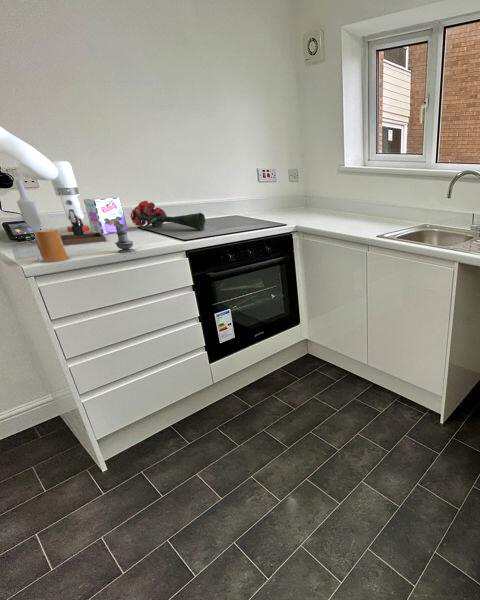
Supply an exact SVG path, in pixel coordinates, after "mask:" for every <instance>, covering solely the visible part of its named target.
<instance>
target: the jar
mask: <svg viewBox="0 0 480 600" xmlns="http://www.w3.org/2000/svg"><path fill="white" fill-rule="evenodd" d="M34 232H35V233H34V234H35V236H34V237H35V240H36V242H35V243H36V246H37V249H38V252H39V254H40V257H41V260H42V262H44V263H57V262H63V261H66V260H68V259H69V258H68V254H67V252H66V249H65V245H63V242H62V239H61V236H62V235H61V234H60V233H59V232H58V229H56V228H43V230H36V231H34Z"/></svg>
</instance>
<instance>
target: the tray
mask: <svg viewBox="0 0 480 600" xmlns="http://www.w3.org/2000/svg"><path fill="white" fill-rule="evenodd" d="M60 236H61V239H62V242H63V245H64V246H73V245H82V244H83V245H84V244H92V243H101V242H107V239H106V236H105V235H102V234H101V233H100V232H97V233H93V232H84V235H82V236H74V233H73V234H64V235H63V234H62V235H60Z"/></svg>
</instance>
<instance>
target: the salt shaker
mask: <svg viewBox="0 0 480 600" xmlns="http://www.w3.org/2000/svg"><path fill="white" fill-rule="evenodd" d="M116 230H117V232H115V233H116V235H117V239H118V240H117V241H116V242H115V243H114V244H115V246H116V247H117V248H118V249H119V250H118V253H120V254H124V253H133V252H135V249H133V248H132V247H133V245H134V244H133V243H134V241H132V240H130V239H129V237H128V232H127V230H125V226H124V225H123V224H121V223H120V222H118V224H116Z"/></svg>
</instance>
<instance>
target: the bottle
mask: <svg viewBox="0 0 480 600" xmlns="http://www.w3.org/2000/svg"><path fill="white" fill-rule="evenodd" d="M14 182H15V185H16V188H17V191H18V193H19V198H18V200H17V201H16V203H17V206H18V209H19V212H20V215H21V216H22V220H23V221H25V222H26V223H28V225H29V226H30V227H31V229H33V230H40V229H41V230H43V229H44V228H43V225H42V222H41V218H40V215H39V212H38V209H37V206H36V203H35V200H33V199H31V198H30V197H29V196H28V195H27V192H26V188H25V186H24V182H23V180H22V179H15V180H14ZM25 222H24V223H25ZM29 240H30V241H31V242H35V243H36V240H35V239H34V240H31V239H30V238H29Z"/></svg>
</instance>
